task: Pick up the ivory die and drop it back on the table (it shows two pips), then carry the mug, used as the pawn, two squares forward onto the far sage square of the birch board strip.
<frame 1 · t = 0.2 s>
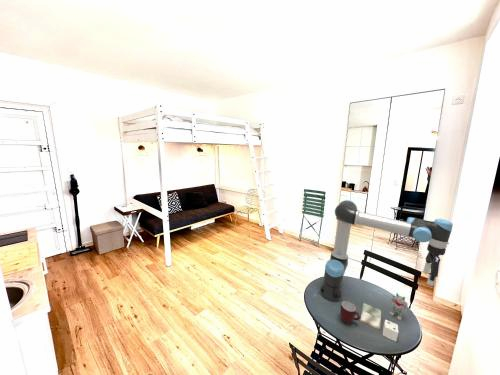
hand: (427, 278, 119), 28 cm above the table, fingers open, 13 cm apart
figurine: (395, 315, 125), on the table
mug: (348, 321, 120), on the table
die: (389, 334, 112), on the table
board: (370, 316, 124), on the table
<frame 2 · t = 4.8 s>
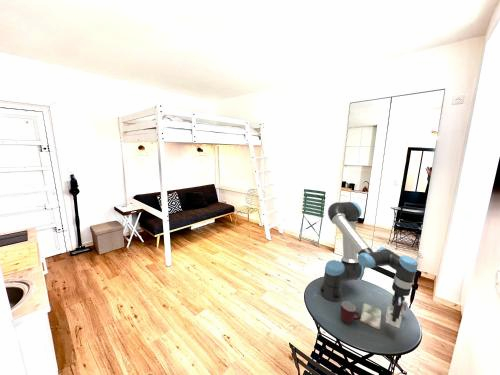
hand: (392, 320, 111), 9 cm above the table, fingers closed on die, 6 cm apart
die: (392, 321, 111), point 9 cm above the table, touching gripper
everything else where it was.
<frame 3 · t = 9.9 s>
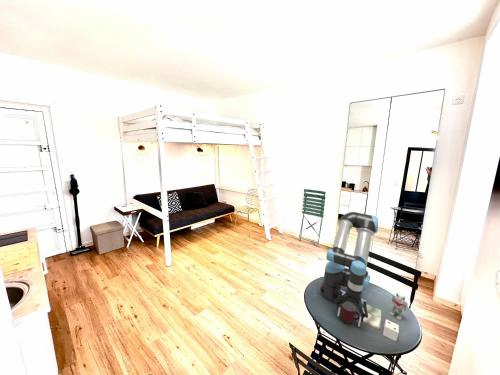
hand: (348, 319, 119), 1 cm above the table, fingers closed on mug, 10 cm apart
mug: (348, 321, 120), on the table, touching gripper
die: (389, 334, 112), on the table
everything else where it was.
when the fingers open (3 cm above the table, at t = 15.7 s): mug stays where it is, resting on board.
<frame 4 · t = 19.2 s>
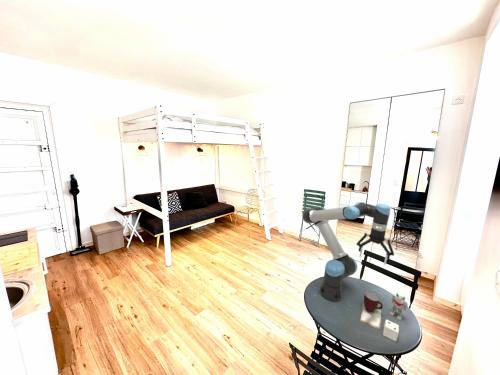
hand: (372, 259, 128), 32 cm above the table, fingers open, 13 cm apart
mug: (371, 310, 127), point 1 cm above the table, touching board
everything else where it was.
at the end: mug inside the target area (0.2 cm from its centre), point 1.0 cm above the table; mug tilted 0°; die on the table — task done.
